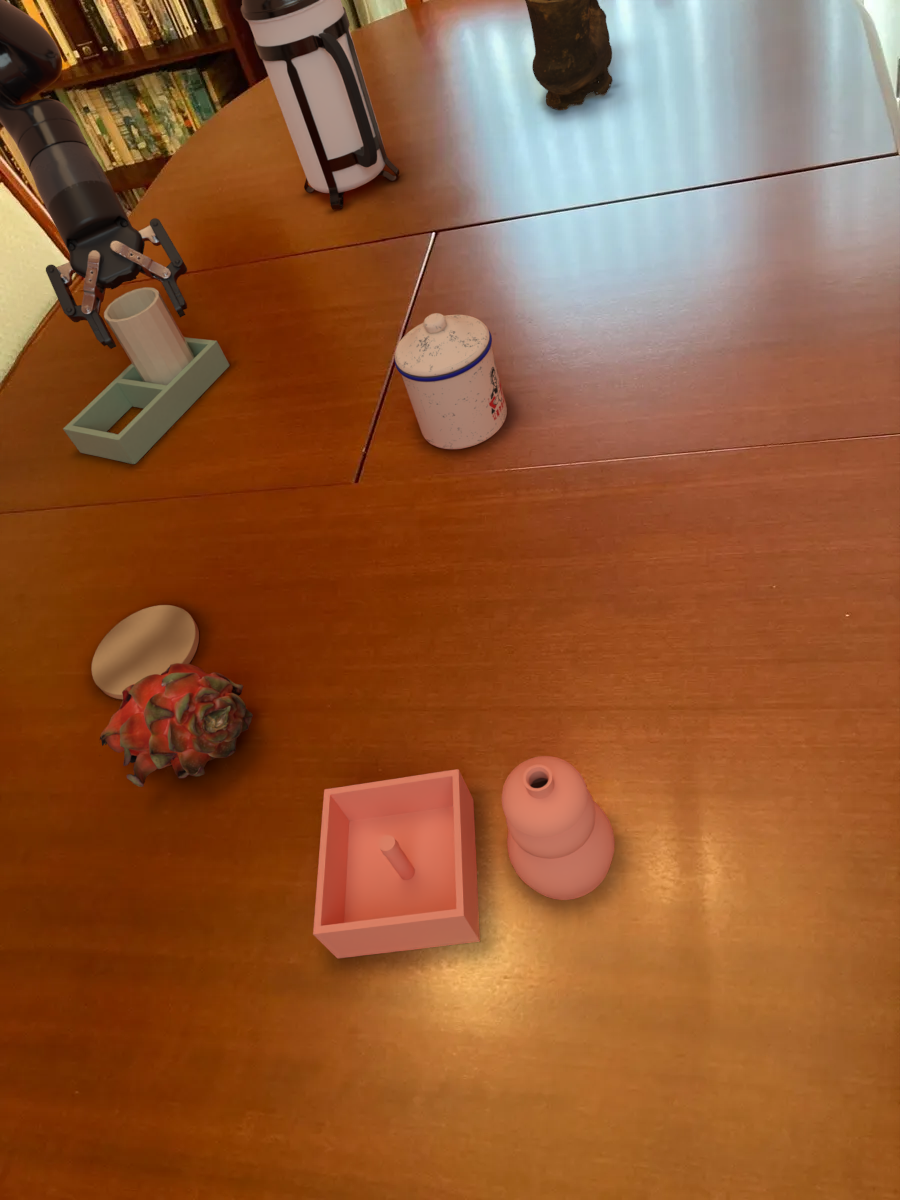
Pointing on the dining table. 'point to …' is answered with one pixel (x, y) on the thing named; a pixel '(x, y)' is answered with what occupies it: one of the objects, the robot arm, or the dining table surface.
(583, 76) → the pottery vessel
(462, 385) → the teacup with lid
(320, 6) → the coffee press
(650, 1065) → the dining table surface
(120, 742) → the dragon fruit
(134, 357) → the cup
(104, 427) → the divided rectangular holder
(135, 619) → the coaster
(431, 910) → the pottery
